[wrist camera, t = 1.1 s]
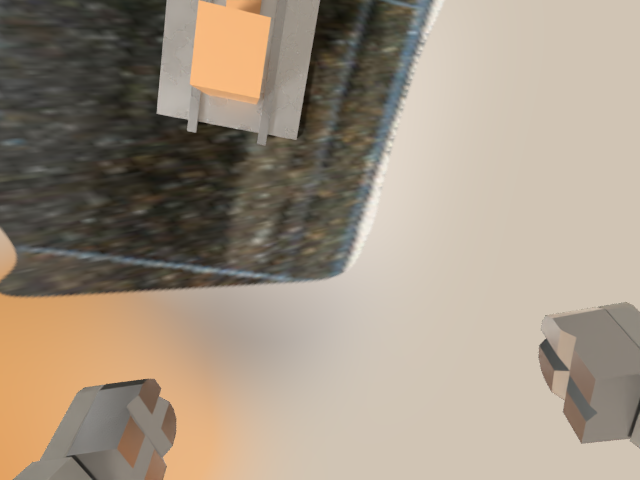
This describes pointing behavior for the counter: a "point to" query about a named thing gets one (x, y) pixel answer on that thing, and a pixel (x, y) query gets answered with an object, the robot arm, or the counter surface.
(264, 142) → the grey slide rail
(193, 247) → the counter surface
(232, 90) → the orange l-shaped block
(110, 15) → the counter surface
